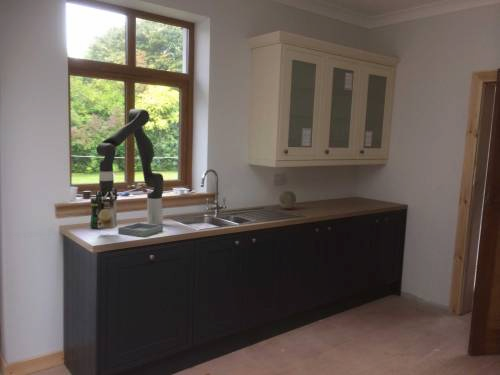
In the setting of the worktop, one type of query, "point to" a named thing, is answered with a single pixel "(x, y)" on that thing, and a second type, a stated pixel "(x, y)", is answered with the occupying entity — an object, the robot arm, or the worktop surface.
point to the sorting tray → (140, 229)
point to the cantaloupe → (287, 199)
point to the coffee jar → (94, 213)
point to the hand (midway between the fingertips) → (106, 208)
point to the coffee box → (108, 214)
